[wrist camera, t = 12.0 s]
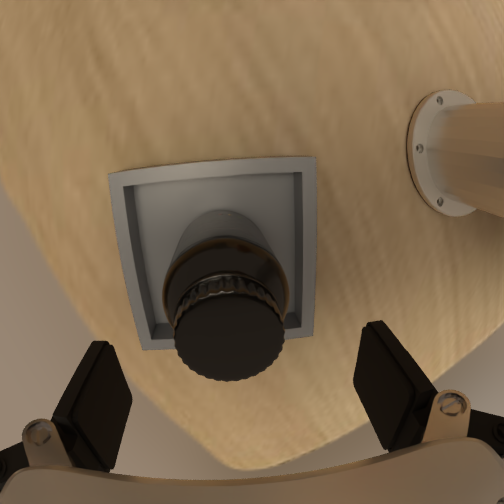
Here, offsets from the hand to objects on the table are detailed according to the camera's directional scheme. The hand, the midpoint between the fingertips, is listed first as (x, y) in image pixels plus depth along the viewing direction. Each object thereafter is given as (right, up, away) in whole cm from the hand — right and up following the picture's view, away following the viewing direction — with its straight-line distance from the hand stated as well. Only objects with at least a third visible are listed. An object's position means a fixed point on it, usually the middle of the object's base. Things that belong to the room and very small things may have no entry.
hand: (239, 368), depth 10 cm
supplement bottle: (-2, +4, +13) cm, 14 cm away
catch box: (-2, +5, +14) cm, 15 cm away
